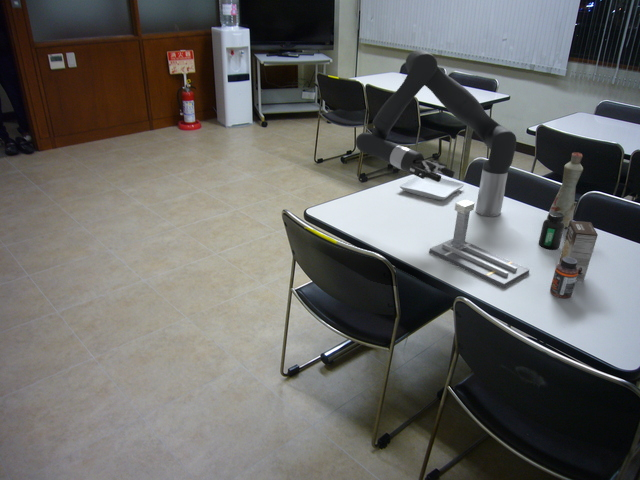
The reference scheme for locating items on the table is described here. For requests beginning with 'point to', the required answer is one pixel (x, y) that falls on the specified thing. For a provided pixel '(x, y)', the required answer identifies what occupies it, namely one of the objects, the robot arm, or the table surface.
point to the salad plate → (431, 187)
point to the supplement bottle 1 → (552, 231)
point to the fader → (461, 223)
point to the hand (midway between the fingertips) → (447, 176)
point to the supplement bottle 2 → (564, 278)
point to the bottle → (568, 189)
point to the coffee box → (579, 245)
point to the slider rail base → (481, 263)
